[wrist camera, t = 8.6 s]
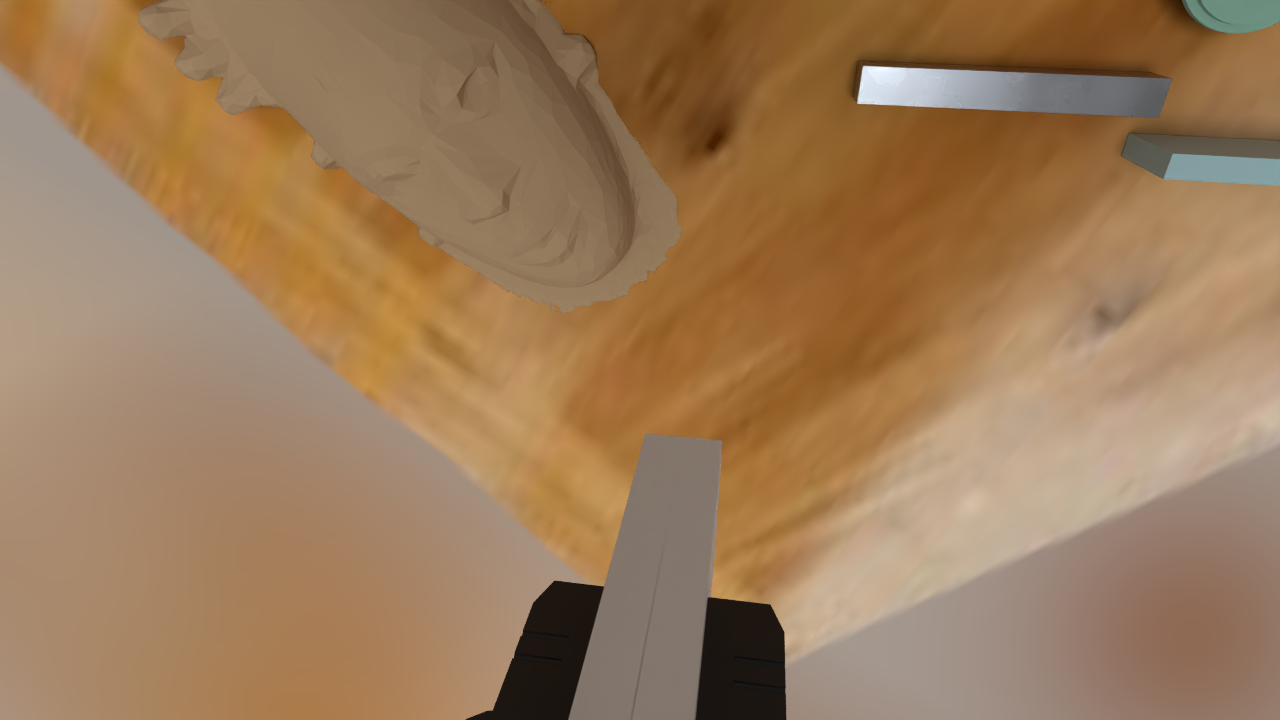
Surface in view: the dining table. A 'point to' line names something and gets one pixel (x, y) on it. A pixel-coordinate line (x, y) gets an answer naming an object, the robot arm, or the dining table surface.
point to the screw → (1234, 14)
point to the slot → (1011, 88)
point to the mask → (452, 128)
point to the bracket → (1206, 158)
